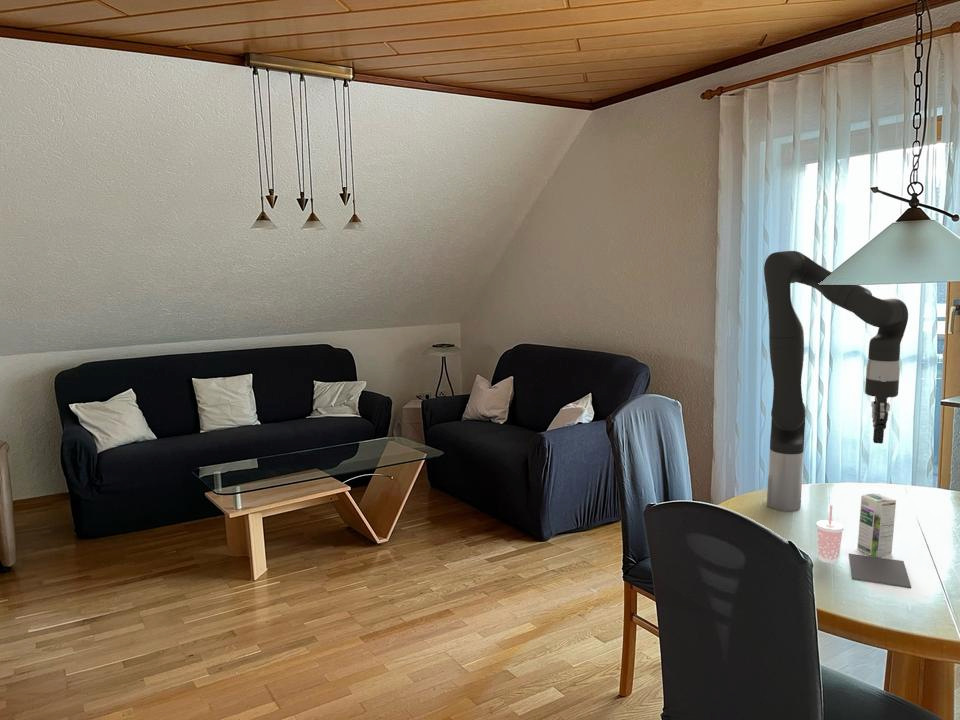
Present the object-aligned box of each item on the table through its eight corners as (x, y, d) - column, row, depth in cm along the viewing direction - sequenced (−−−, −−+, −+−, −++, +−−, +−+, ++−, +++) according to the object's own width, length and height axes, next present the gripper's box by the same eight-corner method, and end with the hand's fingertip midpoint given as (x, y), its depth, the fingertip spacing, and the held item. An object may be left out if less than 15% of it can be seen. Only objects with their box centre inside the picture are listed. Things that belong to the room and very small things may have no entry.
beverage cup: (815, 552, 186) (818, 499, 184) (842, 556, 183) (845, 503, 181) (813, 561, 181) (816, 507, 179) (841, 566, 178) (844, 511, 176)
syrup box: (856, 549, 188) (859, 494, 186) (874, 546, 190) (878, 492, 187) (874, 558, 182) (878, 502, 180) (892, 554, 184) (897, 499, 182)
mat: (851, 579, 171) (851, 577, 171) (848, 554, 185) (848, 553, 185) (911, 588, 166) (911, 586, 166) (903, 562, 180) (903, 560, 180)
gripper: (864, 372, 196) (860, 435, 198) (867, 380, 184) (863, 447, 187) (896, 373, 193) (891, 437, 195) (902, 382, 181) (897, 450, 184)
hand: (877, 442), depth 191 cm, fingers closed
